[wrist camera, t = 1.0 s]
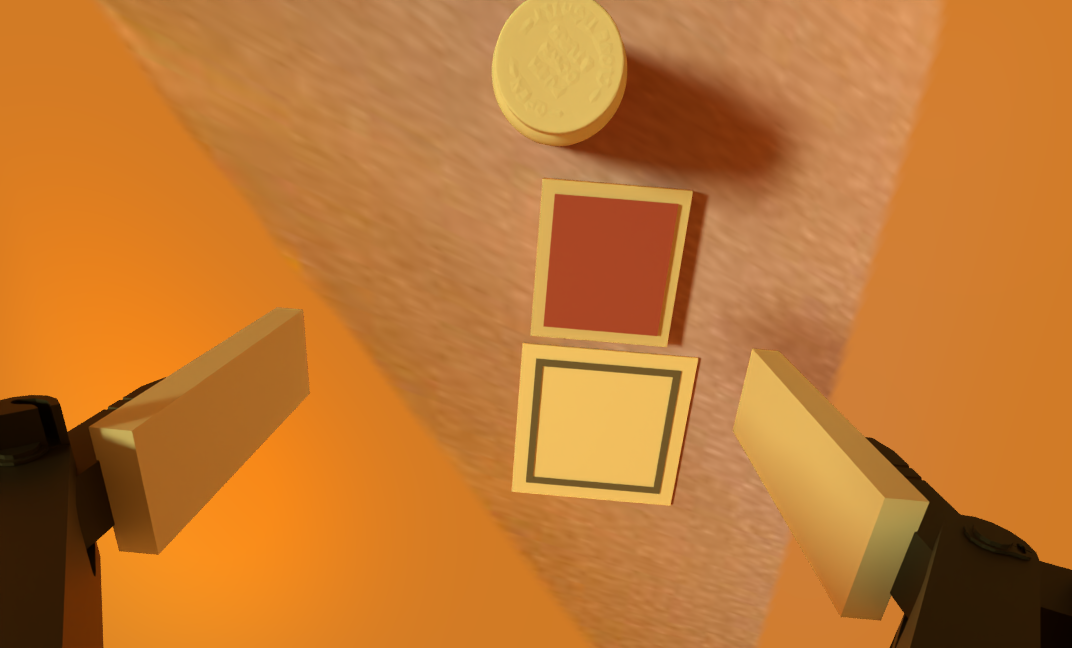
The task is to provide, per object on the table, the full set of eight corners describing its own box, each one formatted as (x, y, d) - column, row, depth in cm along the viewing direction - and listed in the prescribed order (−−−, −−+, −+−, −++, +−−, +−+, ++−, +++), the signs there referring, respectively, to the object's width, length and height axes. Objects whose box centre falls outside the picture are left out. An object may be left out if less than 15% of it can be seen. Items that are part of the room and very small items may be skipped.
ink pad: (543, 177, 33) (542, 179, 31) (688, 189, 33) (694, 191, 31) (531, 329, 36) (530, 337, 35) (663, 340, 36) (667, 348, 35)
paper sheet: (522, 342, 36) (522, 344, 36) (697, 357, 36) (698, 359, 36) (512, 490, 40) (511, 492, 40) (669, 503, 40) (670, 506, 40)
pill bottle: (585, 11, 30) (602, -64, 19) (627, 117, 32) (663, 103, 21) (488, 63, 31) (452, 20, 20) (533, 163, 33) (522, 172, 22)
